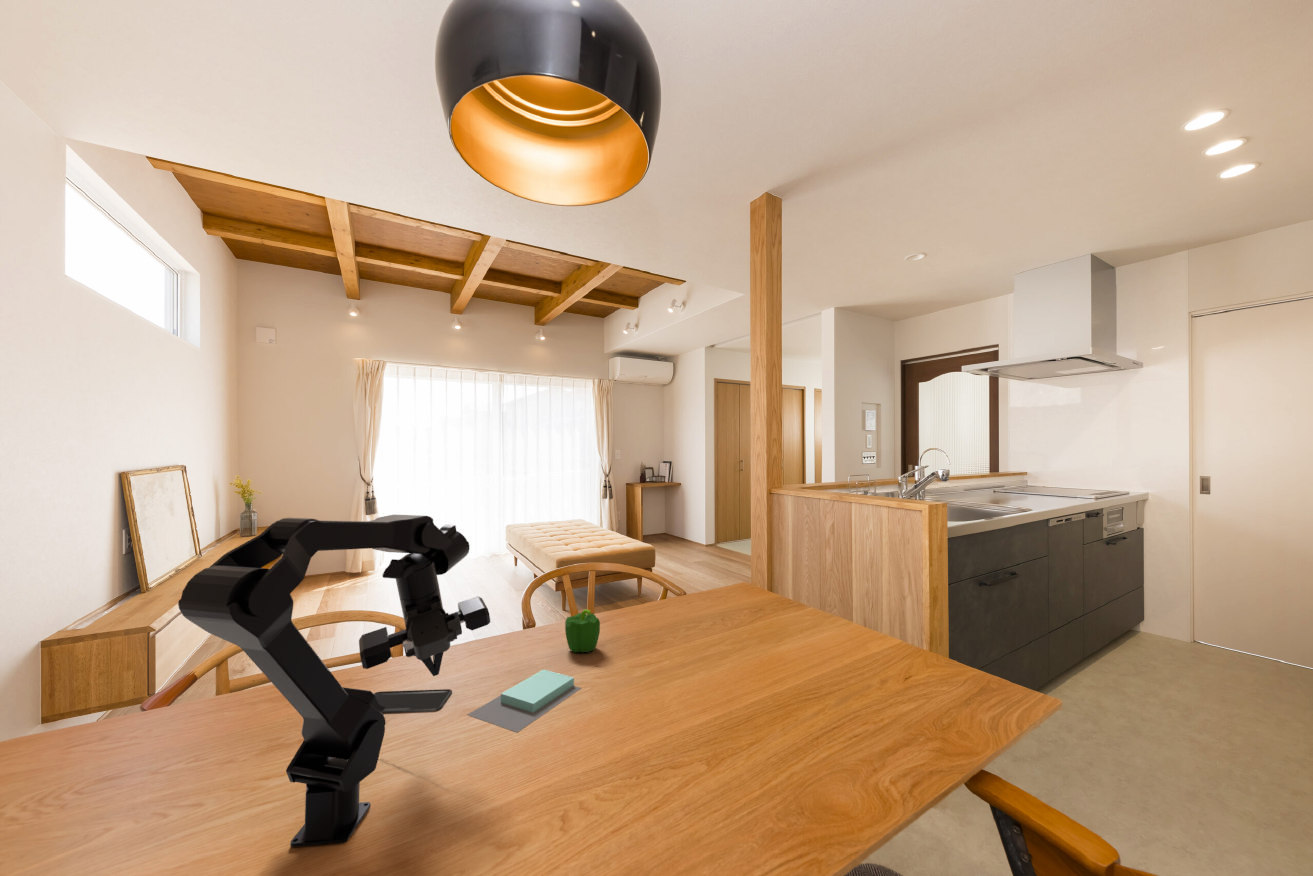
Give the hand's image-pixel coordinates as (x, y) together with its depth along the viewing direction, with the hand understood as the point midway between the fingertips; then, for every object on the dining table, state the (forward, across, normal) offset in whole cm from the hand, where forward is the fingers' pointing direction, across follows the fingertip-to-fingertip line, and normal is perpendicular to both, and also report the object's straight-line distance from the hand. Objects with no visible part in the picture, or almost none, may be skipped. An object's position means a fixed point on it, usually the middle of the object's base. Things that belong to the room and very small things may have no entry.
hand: (435, 674), depth 81 cm
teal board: (+12, +12, 0) cm, 17 cm away
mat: (+14, +14, +1) cm, 20 cm away
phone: (+13, -5, +13) cm, 19 cm away
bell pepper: (+22, +33, +19) cm, 44 cm away
